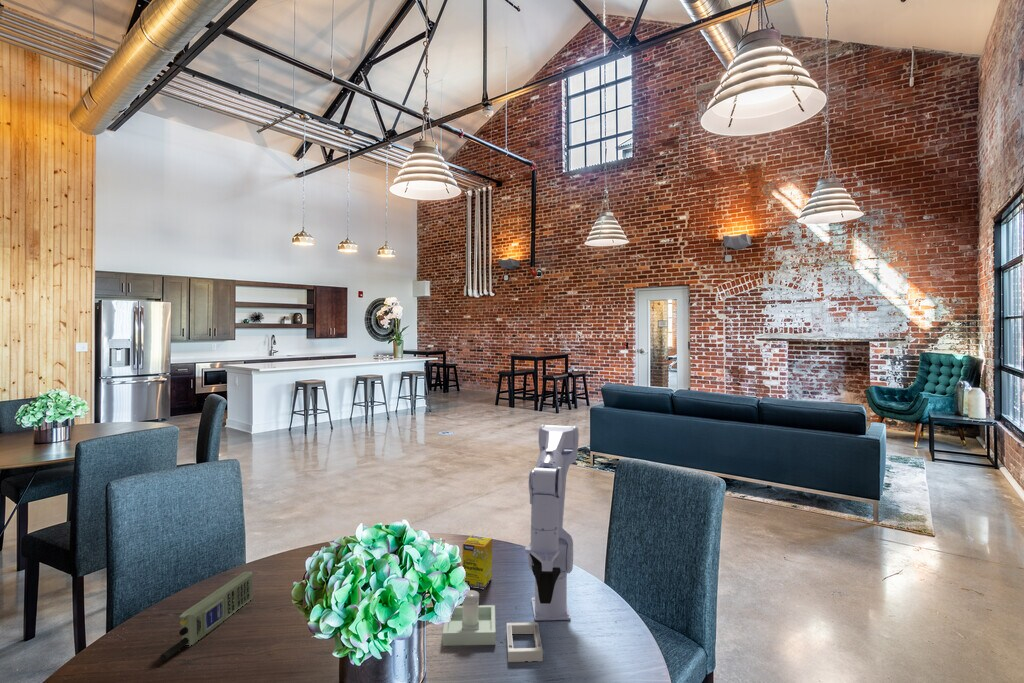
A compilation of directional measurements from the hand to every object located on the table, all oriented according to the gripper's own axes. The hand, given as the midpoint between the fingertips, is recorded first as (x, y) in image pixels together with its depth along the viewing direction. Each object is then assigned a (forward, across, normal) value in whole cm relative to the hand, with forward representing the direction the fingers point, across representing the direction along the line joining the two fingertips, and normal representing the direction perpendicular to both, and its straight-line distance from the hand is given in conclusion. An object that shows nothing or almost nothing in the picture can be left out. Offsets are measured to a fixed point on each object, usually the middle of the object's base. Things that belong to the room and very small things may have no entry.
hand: (543, 594), depth 104 cm
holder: (+10, +1, -4) cm, 10 cm away
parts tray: (+9, -4, -15) cm, 18 cm away
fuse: (+9, -4, -15) cm, 18 cm away
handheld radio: (+11, -6, -70) cm, 72 cm away
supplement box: (+8, -25, -15) cm, 30 cm away
